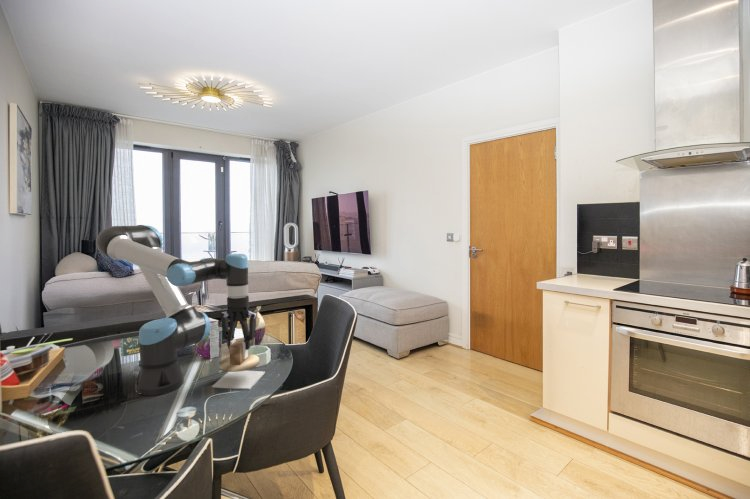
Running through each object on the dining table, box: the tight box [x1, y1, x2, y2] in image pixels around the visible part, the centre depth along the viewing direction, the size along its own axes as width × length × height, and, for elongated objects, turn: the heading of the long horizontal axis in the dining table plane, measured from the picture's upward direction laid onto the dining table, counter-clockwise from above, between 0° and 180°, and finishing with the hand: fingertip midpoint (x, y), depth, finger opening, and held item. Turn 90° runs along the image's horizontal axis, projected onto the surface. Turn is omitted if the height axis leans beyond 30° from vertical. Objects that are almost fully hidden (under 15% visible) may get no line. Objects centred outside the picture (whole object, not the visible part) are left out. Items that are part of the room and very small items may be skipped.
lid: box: [219, 338, 259, 373], centre depth 136 cm, size 14×14×8 cm
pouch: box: [247, 305, 266, 347], centre depth 173 cm, size 25×8×19 cm, turn 13°
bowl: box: [249, 345, 272, 368], centre depth 154 cm, size 11×11×5 cm
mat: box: [211, 370, 266, 390], centre depth 137 cm, size 14×14×1 cm
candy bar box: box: [194, 317, 220, 360], centre depth 159 cm, size 11×5×16 cm, turn 58°
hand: (239, 357), depth 136 cm, fingers closed on lid, 4 cm apart
